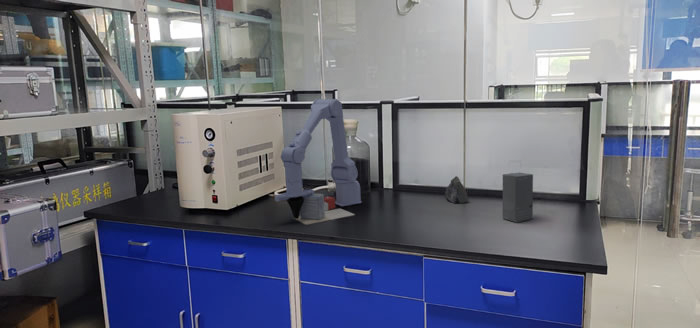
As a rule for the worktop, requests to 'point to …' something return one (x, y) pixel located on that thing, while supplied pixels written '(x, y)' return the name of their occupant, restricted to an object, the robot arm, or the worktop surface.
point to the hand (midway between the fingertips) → (296, 217)
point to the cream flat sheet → (327, 216)
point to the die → (330, 202)
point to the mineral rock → (456, 191)
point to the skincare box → (517, 197)
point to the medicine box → (313, 207)
